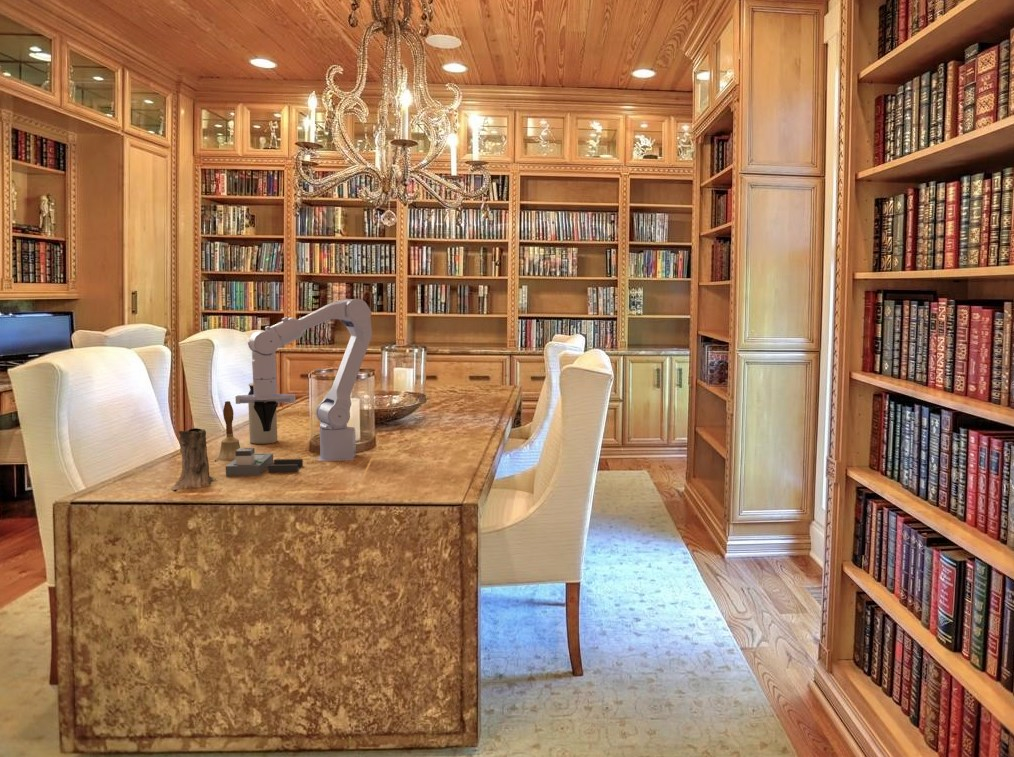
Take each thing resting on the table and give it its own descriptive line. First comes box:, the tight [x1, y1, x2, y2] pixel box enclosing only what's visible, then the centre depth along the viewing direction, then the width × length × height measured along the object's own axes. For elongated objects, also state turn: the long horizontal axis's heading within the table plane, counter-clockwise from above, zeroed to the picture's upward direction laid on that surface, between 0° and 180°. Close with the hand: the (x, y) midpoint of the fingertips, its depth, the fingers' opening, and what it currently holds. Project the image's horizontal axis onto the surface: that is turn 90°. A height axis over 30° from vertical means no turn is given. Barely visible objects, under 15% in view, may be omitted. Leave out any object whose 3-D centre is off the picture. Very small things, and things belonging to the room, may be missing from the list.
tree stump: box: [171, 427, 218, 491], centre depth 168 cm, size 10×10×14 cm
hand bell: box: [214, 400, 241, 462], centre depth 195 cm, size 8×8×16 cm
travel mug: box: [247, 382, 278, 445], centre depth 218 cm, size 8×8×18 cm
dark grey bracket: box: [267, 458, 304, 474], centre depth 183 cm, size 7×7×2 cm
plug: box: [236, 447, 255, 465], centre depth 179 cm, size 4×4×6 cm
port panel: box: [225, 452, 274, 477], centre depth 183 cm, size 8×14×3 cm, turn 5°
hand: (267, 430), depth 185 cm, fingers closed
